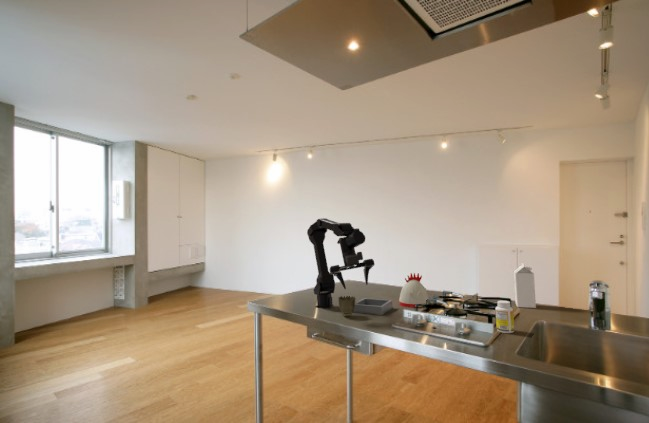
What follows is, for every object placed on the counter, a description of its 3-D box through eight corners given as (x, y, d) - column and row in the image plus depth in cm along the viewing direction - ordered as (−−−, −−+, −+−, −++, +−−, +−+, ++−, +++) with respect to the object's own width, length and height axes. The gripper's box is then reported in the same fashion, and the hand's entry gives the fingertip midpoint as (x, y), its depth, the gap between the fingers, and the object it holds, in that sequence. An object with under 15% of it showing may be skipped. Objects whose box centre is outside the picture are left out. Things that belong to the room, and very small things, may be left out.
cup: (355, 318, 145) (354, 299, 145) (337, 318, 146) (336, 299, 146) (357, 314, 152) (356, 295, 152) (340, 313, 153) (339, 295, 154)
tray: (352, 312, 156) (351, 304, 156) (364, 305, 168) (364, 298, 168) (382, 315, 149) (381, 306, 149) (392, 307, 161) (392, 300, 161)
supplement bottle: (509, 328, 124) (508, 299, 125) (517, 333, 119) (516, 303, 119) (493, 329, 125) (492, 300, 125) (501, 333, 119) (499, 303, 119)
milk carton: (517, 307, 154) (515, 264, 155) (515, 304, 161) (513, 262, 162) (536, 308, 151) (533, 264, 152) (533, 304, 158) (530, 262, 159)
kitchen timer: (432, 307, 160) (431, 274, 161) (402, 308, 160) (401, 275, 161) (424, 300, 174) (423, 270, 175) (397, 301, 174) (395, 271, 175)
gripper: (327, 250, 142) (335, 289, 137) (372, 242, 143) (381, 280, 139) (326, 256, 152) (333, 292, 147) (368, 248, 154) (376, 283, 149)
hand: (356, 287), depth 145 cm, fingers open, 9 cm apart
